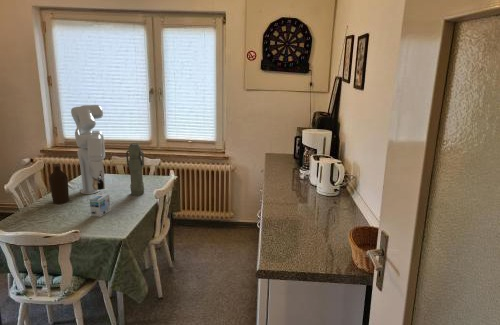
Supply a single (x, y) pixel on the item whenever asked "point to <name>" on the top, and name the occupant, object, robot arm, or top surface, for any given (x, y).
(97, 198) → the light bulb box
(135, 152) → the thermos
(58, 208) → the top surface
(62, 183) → the olive oil
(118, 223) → the top surface
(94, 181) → the beech block
